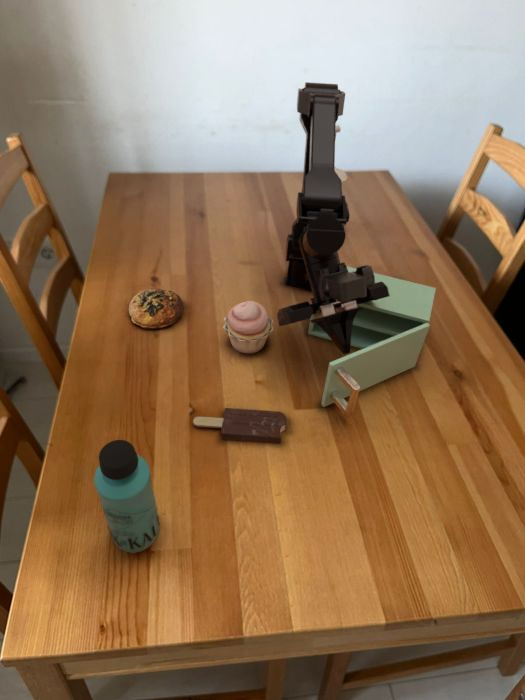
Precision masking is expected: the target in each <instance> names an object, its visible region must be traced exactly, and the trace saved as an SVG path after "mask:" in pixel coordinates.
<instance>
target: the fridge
mask: <svg viewBox="0 0 525 700" xmlns="http://www.w3.org/2000/svg"><path fill="white" fill-rule="evenodd" d="M346 266H347V270H348V271H349V272H355V271H356V269H357V267H356V268H355V267H352V266H348V265H346ZM373 273H374V276H375V283H378V282H383V283H384V284H385V285H386V286H387V287H388V290H389V294H390V296H389V297H385V298H381V299H378V300H373V301H369V302H365V303H362V304H358V305H357V307H362V310H359V311H358V312H357V314H356V316H355V317H354V320H353V325H352V333H351V345H350V347H355V348H357V349H360V350H361V349H364V348H366V347H369V346H371V345H374V344H376V343H379V342H381V341H383V340H386V339H388V338H391V337H393V336H396V335H398V334H401V333H403V332H406V331H408V330H410V329H413V328H415V327H418V326H420V325H423V324H425V323H428V324H430V320H431V315H432V311H433V304H434V301H435V295H436V290H437V288H436V287H434V286H430V285H425V284H421V283H417V282H413V281H408V280H404V279H401V278H397V277H393V276H389V275H386V274H385V275H384V274H380V273H376V272H373ZM337 301H338V300H337V299H336V302H337ZM326 304H329V300H326V302H324V303H323V305H326ZM333 305H334V304H333ZM334 310H335V309H334ZM335 313H336V311H335ZM313 319H314V317H313V315H312V316H311V318H310V319H309V325H308V332H307V334H308V335H311V336H315V337H319V338H322V339H326V340H330V341H332V339H331V338H330V337H329V336H328V334H327V333H326V332H325V331H324V330H323V329H322V328H321V327H320V326H319V325H318V324H317V323H316V322H314V323H311V320H313Z"/></svg>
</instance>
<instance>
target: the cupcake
mask: <svg viewBox="0 0 525 700" xmlns="http://www.w3.org/2000/svg"><path fill="white" fill-rule="evenodd" d="M223 321H224V322H225V324H224V325H223V326H222V328H223V330H224V331H225V332H226V334H227V335H228V338H229V340H230V344H231V346H232V348H233V349H235V350H236V351H237V352H239V353H242V354H247V355H249V354H255V353H258V352H259V351H261V350H262V349H263V348H264V346H265V344H266V342H267V339H268V337H269V335H270V334H271V333H272V332H273V331H274V327H273V323H274V321H275V320H274V319H272V318H270V317H269V314H268V311H267V310H266V308H265V307H264V305H262V304H261V303H259V302H257V301H254V300H246V301H243V302H240V303H238V304H236V305H235V306H233V307H232V308H231V309H230V310H229V312H228V314H227V316H225V317H224V318H223Z"/></svg>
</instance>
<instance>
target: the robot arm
mask: <svg viewBox="0 0 525 700" xmlns="http://www.w3.org/2000/svg"><path fill="white" fill-rule="evenodd" d="M345 101H346V92H345V91H343V90H340V89H339V85H338V84H337V83H326V82H325V83H323V82H307V81H305V82H304V87H303V88H297V98H296V111H297V113H299V122H300V125H301V127H302V129H303V131H304V134H305V148H304V158H303V159H304V160H303V174H302V186H301V191H298V192H297V197H296V198H297V199H296V219H295V220H294V222H293V223H292V225H291V231H290V233H288V234H287V236H286V242H285V243H286V246H285V262H288V266H287V277H286V278H285V280H284V285H285V286H289V287H294V288H298V289H301V290H304V291H308V292H311V293H312V296H313V297H311V298H310V302H311V303H310V302H309V300H308V301H303V302H300V303H296V304H292V305H288V306H285V307H281V308H279V309H278V311H277V314H276V319H277V323H278V326H279V327H284V326H287V325H291V324H295V323H299V322H304V321H307V320H310V318H311V316H312V315H313V317H314V319H313V320H311V323H314V322H316V323H317V324H318V325H319V326H320V327H321V328H322V329H323V330H324V331H325V332H326V333H327V334H328V336H329V337H330V338H331V339H332V340H331V341H332V342H333V343H334V345H335V346H336V348H338V350H339V351H340V352H341V354H342V355H349V354H351V333H352V325H353V320H354V317H355V316H356V314H357V312H358V311H359V310H362V307H357V305H358V304H362V303H365V302H369V301H373V300H378V299H381V298H385V297H389V296H390V294H389V290H388V287H387V286H386V285H385V284H384V283H383V282H378V283H375V276H374V273H375V272H374V271H373V267H372V265H368V264H365V265H361V266H357V267H356V271H355V272H349V271H348V270H347V266H348V265H347V264H346V263H345V262H341V260H340V259H341V258H340V256H339V253H338V252H339V251H340V249H341V248H342V247H343V245H344V243H345V241H346V231H345V226H346V225H347V223H349V220H350V216H351V215H350V211H349V210H350V209H349V204H348V201H347V200H346V195H345V194H343V187H342V186H343V185H342V183H343V182H342V181H341V179H340V178H339V176H338V175H337V173H336V172H335V169H334V167H335V163H336V161H335V159H336V156H335V155H336V139H335V125H336V123H337V121H338V120H339V117H340V116H341V117H342V116H343V115H344V108H345ZM336 299H337V300H338V301H337V302H336ZM326 300H329V304H326V305H323V303H324V302H326ZM333 304H334V305H333ZM334 309H335V310H334ZM335 311H336V313H335Z"/></svg>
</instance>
